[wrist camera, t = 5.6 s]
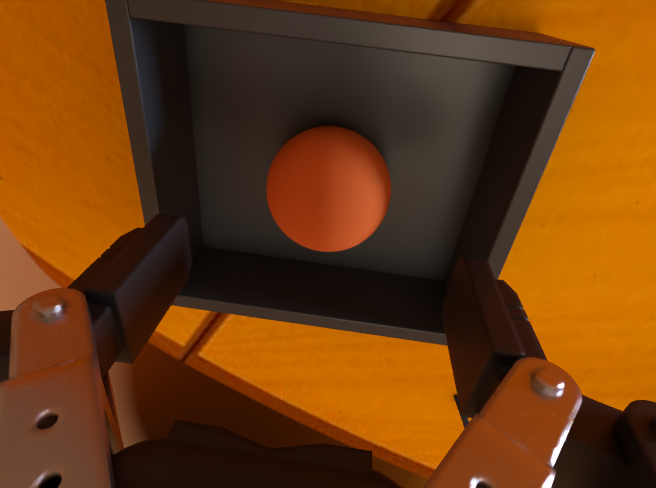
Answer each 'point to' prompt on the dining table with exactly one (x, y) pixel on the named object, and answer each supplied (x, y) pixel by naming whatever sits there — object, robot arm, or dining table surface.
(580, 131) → the dining table surface
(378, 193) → the ball
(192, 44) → the bin
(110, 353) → the robot arm
